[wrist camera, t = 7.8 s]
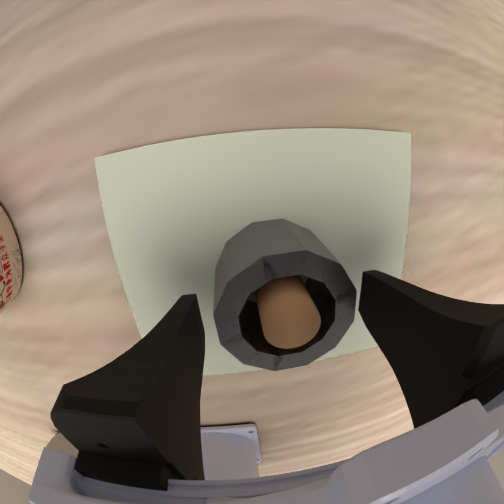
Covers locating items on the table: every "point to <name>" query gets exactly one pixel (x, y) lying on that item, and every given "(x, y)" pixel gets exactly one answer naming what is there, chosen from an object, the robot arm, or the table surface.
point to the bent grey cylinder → (62, 445)
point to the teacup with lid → (9, 262)
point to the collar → (275, 266)
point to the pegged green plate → (255, 210)
